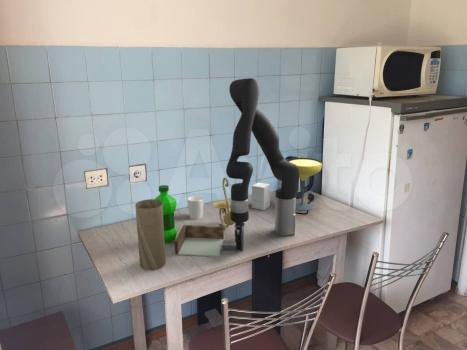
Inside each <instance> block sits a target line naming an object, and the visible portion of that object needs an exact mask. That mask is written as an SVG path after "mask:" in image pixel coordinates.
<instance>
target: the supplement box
mask: <svg viewBox="0 0 467 350" xmlns="http://www.w3.org/2000/svg"><path fill="white" fill-rule="evenodd" d="M270 198H271V184H270V183H266V182H256V183H254V184H252V186H251V208H252V209H257V210H261V211H265V210H266V209H268V208H269V207H270V205H271V203H270V202H271V199H270Z"/></svg>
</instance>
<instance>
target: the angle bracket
mask: <svg viewBox="0 0 467 350" xmlns="http://www.w3.org/2000/svg"><path fill="white" fill-rule="evenodd" d="M241 234H242V233H241ZM237 239H240V238H237ZM244 247H245V230H244V231H243V236H242V249H241V250H236V242H235V240H223V242H222V247H221V251H223V252H224V251H226V252H244V249H245V248H244Z"/></svg>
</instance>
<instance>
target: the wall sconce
mask: <svg viewBox="0 0 467 350" xmlns="http://www.w3.org/2000/svg"><path fill="white" fill-rule="evenodd" d="M229 185H230V184H229V179H228V178H227V177H226V176H225V177H223V179H222V190H223V194H224V198H225V200H220V201H215V202H214V203H213V204H212V205H213V207H214V208H216V209H219V213H218V214H219V219H220V222H221V223H220V224H221V226H224V229H225V228H229V226H234V225H235V222H233V221H232V220H231V219H230V203H231V201H229V200H228V195H227V190H226V187H227V188H228V187H229ZM222 214H223V215H222ZM222 216H223V217H222Z"/></svg>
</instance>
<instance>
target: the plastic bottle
mask: <svg viewBox="0 0 467 350" xmlns="http://www.w3.org/2000/svg"><path fill="white" fill-rule="evenodd" d="M169 187H170V186H169V185H167V184H163V185H162V184H161V185H158V192H159V193H160V194H159V195H157V196H156V197H155V198H154V200H160V201H161V202H162V206H163V224H164V241H165V244H169V243H172V242H173V241H175V240H176V238H177V236H178V229H177V227H176V225H175V224H176V223H175V222H176V221H175V211H176V210H177V205H178V203H177V200H176V198H174V197H173V196H172V195H171V194H169V190H170V188H169Z"/></svg>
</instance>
